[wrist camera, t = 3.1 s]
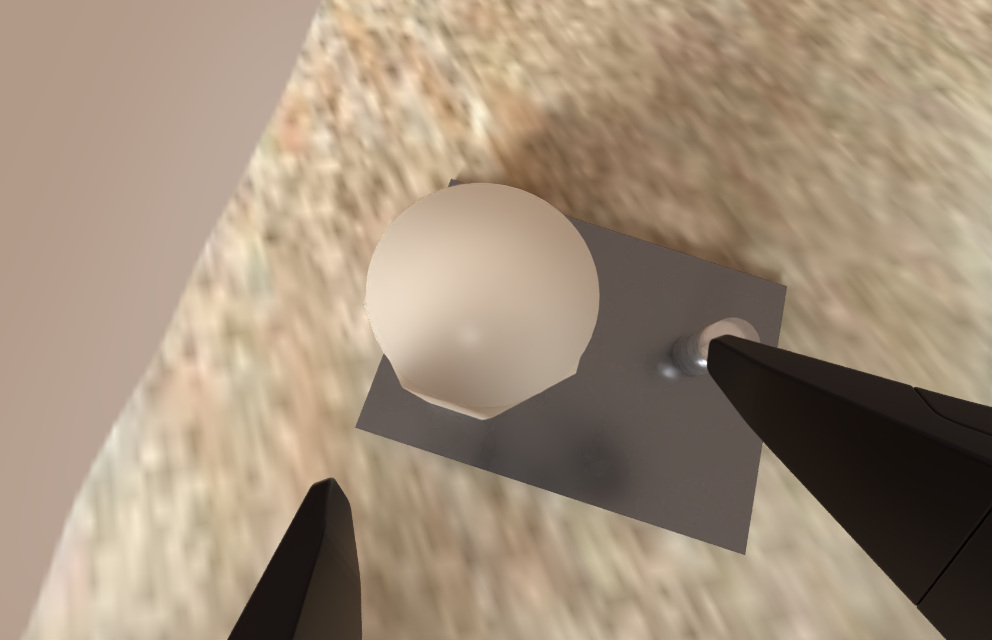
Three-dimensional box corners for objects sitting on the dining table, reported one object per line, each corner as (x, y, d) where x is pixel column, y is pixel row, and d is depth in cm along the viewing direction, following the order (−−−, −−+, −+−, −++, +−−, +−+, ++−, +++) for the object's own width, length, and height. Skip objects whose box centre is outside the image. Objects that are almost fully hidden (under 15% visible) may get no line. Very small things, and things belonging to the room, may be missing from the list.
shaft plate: (775, 291, 23) (844, 261, 19) (734, 549, 20) (805, 583, 16) (451, 187, 23) (448, 135, 19) (359, 427, 20) (331, 428, 16)
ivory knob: (554, 310, 21) (623, 221, 12) (519, 432, 20) (565, 439, 10) (437, 272, 21) (414, 154, 12) (392, 390, 20) (327, 362, 11)
